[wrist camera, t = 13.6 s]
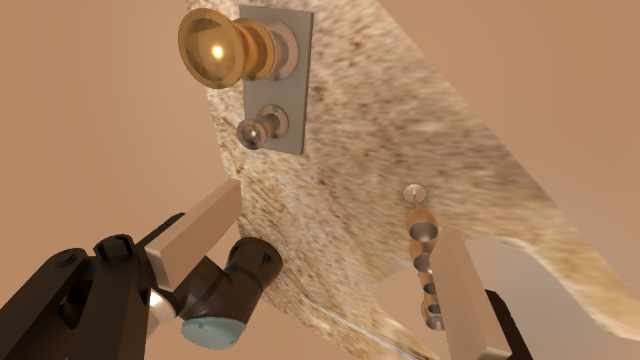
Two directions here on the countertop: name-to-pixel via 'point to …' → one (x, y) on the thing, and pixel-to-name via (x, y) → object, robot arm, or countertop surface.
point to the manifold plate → (289, 90)
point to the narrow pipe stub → (263, 127)
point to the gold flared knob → (224, 48)
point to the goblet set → (424, 253)
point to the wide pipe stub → (282, 49)
